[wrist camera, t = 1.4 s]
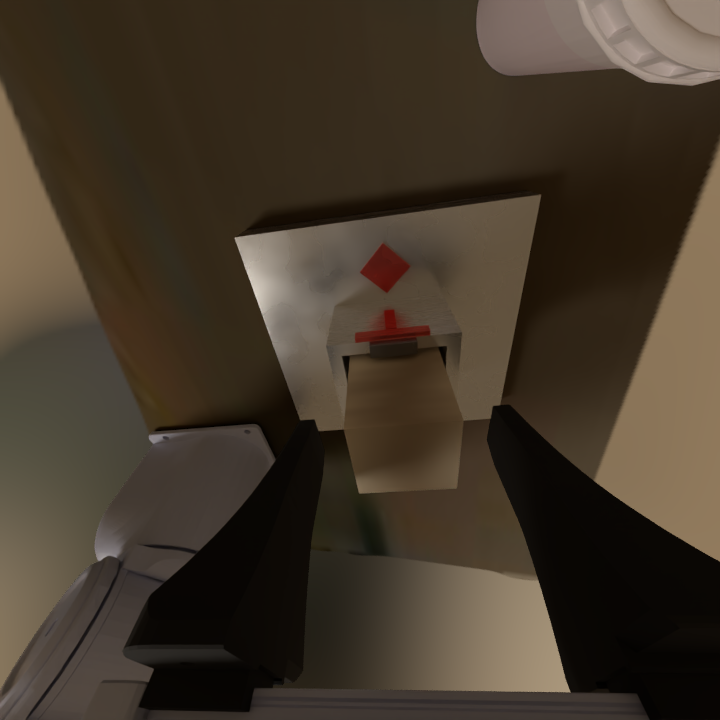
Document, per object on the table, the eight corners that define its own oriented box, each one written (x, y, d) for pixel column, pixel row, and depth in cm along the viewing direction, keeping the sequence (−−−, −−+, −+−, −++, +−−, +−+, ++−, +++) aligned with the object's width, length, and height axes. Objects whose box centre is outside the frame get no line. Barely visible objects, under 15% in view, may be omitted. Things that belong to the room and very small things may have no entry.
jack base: (307, 417, 24) (292, 486, 19) (245, 230, 15) (190, 268, 11) (490, 403, 22) (524, 473, 17) (526, 190, 14) (607, 212, 9)
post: (360, 376, 19) (357, 494, 13) (350, 318, 16) (340, 427, 10) (427, 370, 19) (459, 489, 12) (427, 310, 16) (467, 418, 10)
